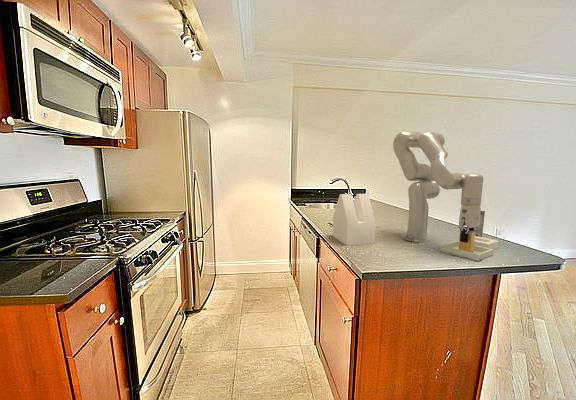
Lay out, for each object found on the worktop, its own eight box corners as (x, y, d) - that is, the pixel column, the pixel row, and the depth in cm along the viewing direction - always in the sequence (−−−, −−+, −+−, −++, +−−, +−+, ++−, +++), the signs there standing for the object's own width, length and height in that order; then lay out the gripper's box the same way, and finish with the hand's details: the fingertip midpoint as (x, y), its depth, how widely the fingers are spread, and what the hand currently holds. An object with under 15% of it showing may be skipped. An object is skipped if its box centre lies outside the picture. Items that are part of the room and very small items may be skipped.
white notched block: (332, 236, 156) (333, 192, 152) (357, 234, 159) (358, 192, 156) (346, 245, 137) (348, 196, 134) (374, 244, 140) (376, 196, 137)
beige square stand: (487, 252, 127) (488, 244, 127) (462, 246, 137) (463, 238, 136) (498, 248, 133) (499, 240, 132) (473, 243, 142) (474, 235, 142)
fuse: (469, 254, 123) (472, 232, 121) (458, 250, 127) (460, 230, 126) (473, 252, 124) (475, 231, 123) (461, 249, 129) (463, 229, 127)
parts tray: (477, 261, 115) (478, 255, 115) (440, 251, 129) (440, 245, 128) (492, 256, 122) (493, 249, 122) (455, 246, 136) (456, 241, 136)
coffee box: (468, 237, 153) (470, 209, 150) (482, 239, 149) (485, 210, 147) (466, 241, 145) (469, 211, 143) (481, 243, 142) (484, 213, 139)
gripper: (470, 204, 115) (466, 246, 117) (489, 201, 124) (485, 240, 126) (451, 202, 121) (448, 241, 123) (471, 199, 130) (467, 236, 132)
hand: (467, 240), depth 125 cm, fingers open, 5 cm apart
